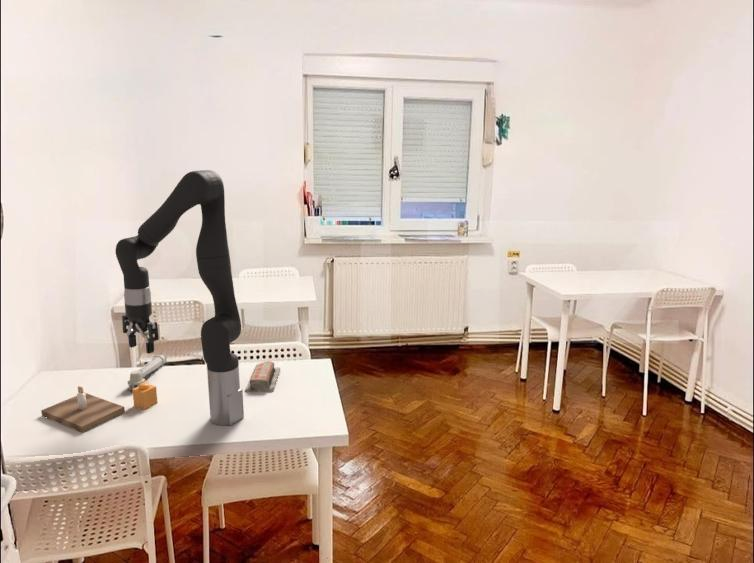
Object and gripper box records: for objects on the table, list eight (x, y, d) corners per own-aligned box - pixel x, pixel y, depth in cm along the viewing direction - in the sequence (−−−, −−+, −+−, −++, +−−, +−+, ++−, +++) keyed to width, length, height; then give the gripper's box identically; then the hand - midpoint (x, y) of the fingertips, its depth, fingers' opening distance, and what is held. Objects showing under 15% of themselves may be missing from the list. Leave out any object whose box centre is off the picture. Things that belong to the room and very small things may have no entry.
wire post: (88, 407, 164) (85, 385, 162) (81, 410, 162) (78, 388, 161) (84, 406, 165) (81, 384, 163) (77, 409, 163) (74, 387, 162)
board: (124, 412, 166) (124, 406, 165) (82, 432, 154) (82, 426, 153) (84, 398, 175) (84, 392, 174) (42, 416, 163) (41, 410, 162)
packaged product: (273, 379, 181) (244, 380, 180) (274, 392, 182) (244, 393, 181) (280, 359, 198) (253, 359, 198) (280, 371, 199) (254, 371, 199)
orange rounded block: (157, 402, 172) (155, 383, 171) (144, 409, 168) (142, 389, 166) (147, 399, 175) (145, 379, 173) (134, 405, 170) (131, 385, 169)
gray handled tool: (168, 353, 203) (139, 372, 179) (168, 370, 204) (140, 391, 179) (154, 353, 203) (123, 371, 179) (155, 370, 204) (124, 390, 179)
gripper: (163, 302, 163) (166, 351, 167) (134, 294, 169) (137, 341, 173) (142, 308, 156) (145, 358, 160) (112, 299, 163) (116, 348, 167)
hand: (141, 349), depth 167 cm, fingers open, 8 cm apart
